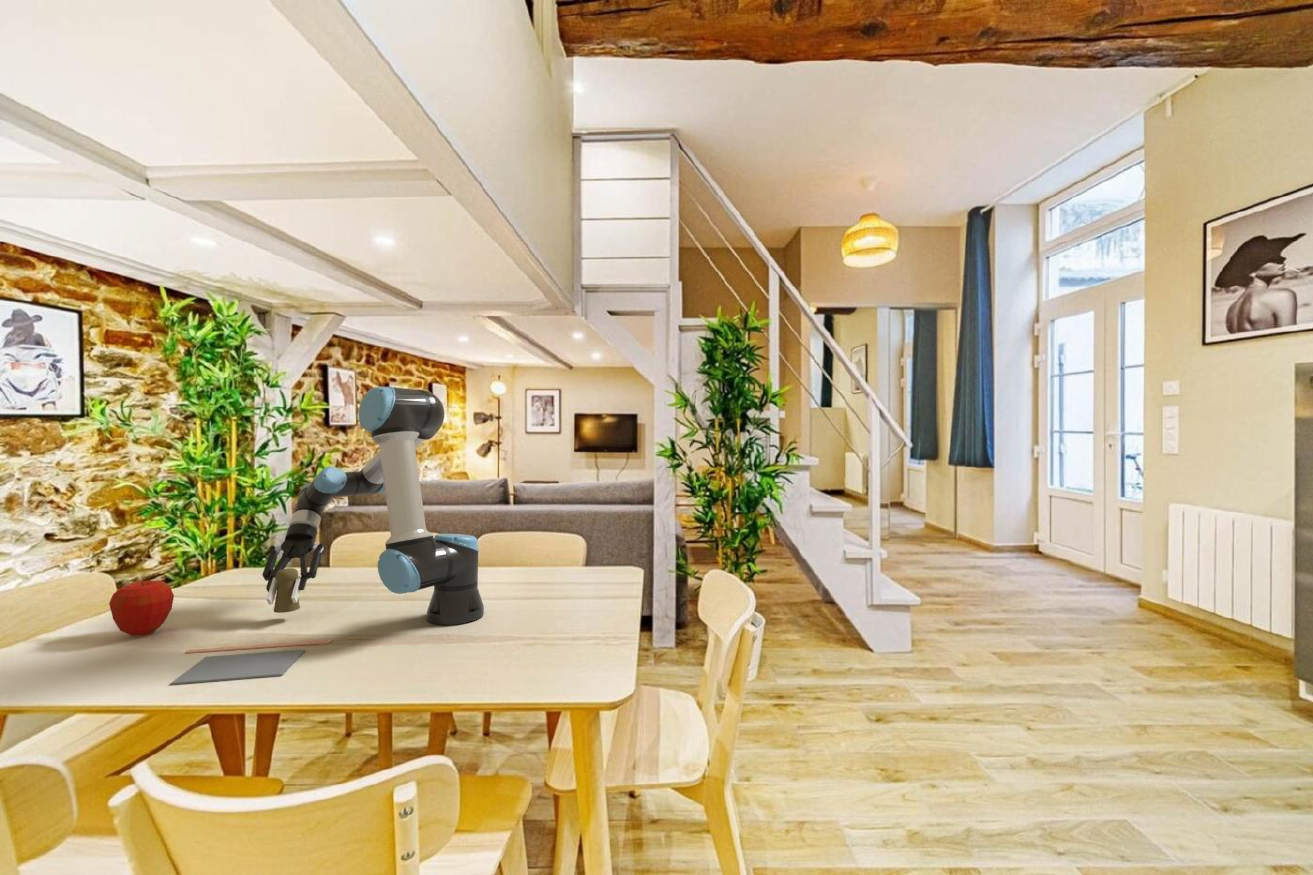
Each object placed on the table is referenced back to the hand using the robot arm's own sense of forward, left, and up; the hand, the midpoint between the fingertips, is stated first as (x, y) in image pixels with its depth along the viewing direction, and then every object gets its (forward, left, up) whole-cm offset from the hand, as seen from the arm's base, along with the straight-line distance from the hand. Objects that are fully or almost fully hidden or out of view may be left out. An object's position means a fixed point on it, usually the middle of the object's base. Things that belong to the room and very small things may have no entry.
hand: (281, 600), depth 152 cm
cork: (0, -4, -4) cm, 5 cm away
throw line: (-1, +16, -6) cm, 18 cm away
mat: (-2, +28, -6) cm, 29 cm away
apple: (+31, 0, -7) cm, 32 cm away
